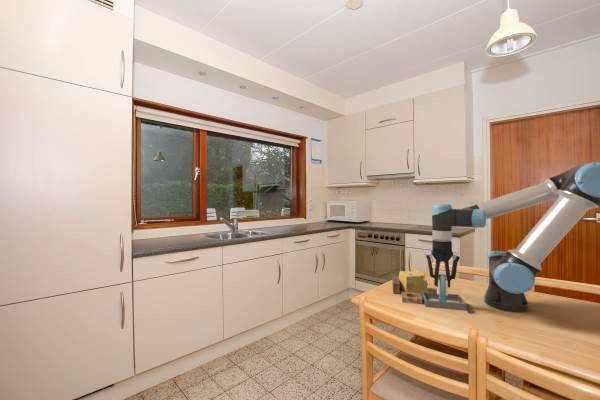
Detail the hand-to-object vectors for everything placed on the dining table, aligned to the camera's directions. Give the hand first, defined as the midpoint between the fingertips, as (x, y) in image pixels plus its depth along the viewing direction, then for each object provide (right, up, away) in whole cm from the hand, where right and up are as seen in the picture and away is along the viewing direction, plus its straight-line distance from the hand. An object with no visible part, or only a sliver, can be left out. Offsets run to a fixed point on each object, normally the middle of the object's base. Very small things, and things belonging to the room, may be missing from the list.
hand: (442, 294), depth 117 cm
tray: (0, -5, 0) cm, 5 cm away
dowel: (0, -4, 0) cm, 4 cm away
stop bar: (-14, -5, +18) cm, 23 cm away
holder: (-12, -5, +5) cm, 13 cm away
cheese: (-6, -5, +16) cm, 18 cm away
